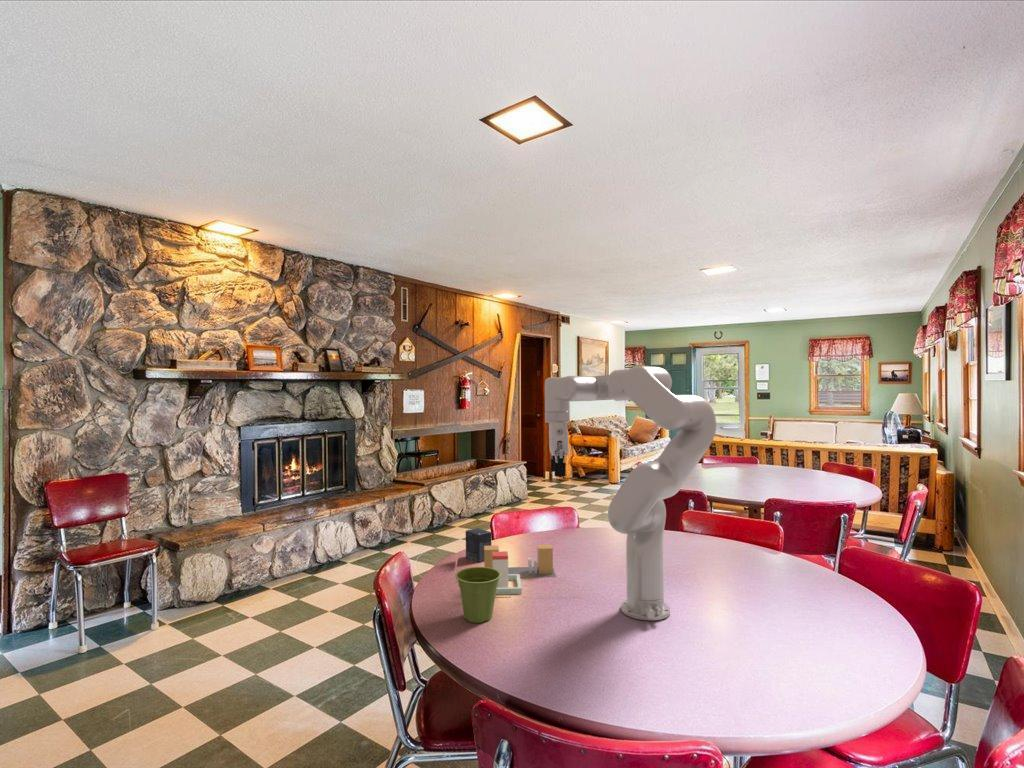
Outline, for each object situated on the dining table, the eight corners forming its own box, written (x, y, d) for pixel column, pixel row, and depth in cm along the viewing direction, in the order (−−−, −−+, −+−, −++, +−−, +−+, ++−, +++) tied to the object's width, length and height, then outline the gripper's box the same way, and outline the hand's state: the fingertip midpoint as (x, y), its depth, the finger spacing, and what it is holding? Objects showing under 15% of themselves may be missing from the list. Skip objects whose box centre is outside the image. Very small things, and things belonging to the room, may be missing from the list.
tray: (521, 597, 152) (521, 588, 152) (479, 598, 151) (479, 589, 151) (519, 582, 164) (519, 573, 164) (480, 583, 163) (480, 574, 163)
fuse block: (556, 580, 165) (556, 550, 165) (482, 581, 164) (481, 552, 164) (552, 569, 175) (552, 541, 175) (482, 571, 174) (482, 543, 174)
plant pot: (460, 630, 131) (459, 584, 131) (452, 611, 142) (452, 569, 143) (506, 624, 134) (506, 579, 134) (495, 606, 145) (495, 564, 146)
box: (491, 562, 183) (491, 531, 183) (478, 566, 179) (478, 534, 179) (478, 557, 189) (478, 527, 189) (465, 560, 185) (465, 530, 186)
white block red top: (508, 590, 155) (508, 555, 155) (492, 590, 155) (492, 556, 155) (507, 584, 160) (507, 551, 160) (492, 585, 160) (492, 551, 160)
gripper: (574, 418, 154) (574, 478, 154) (565, 416, 172) (566, 469, 171) (548, 419, 154) (548, 478, 154) (542, 416, 171) (542, 469, 171)
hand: (558, 473), depth 163 cm, fingers open, 9 cm apart
